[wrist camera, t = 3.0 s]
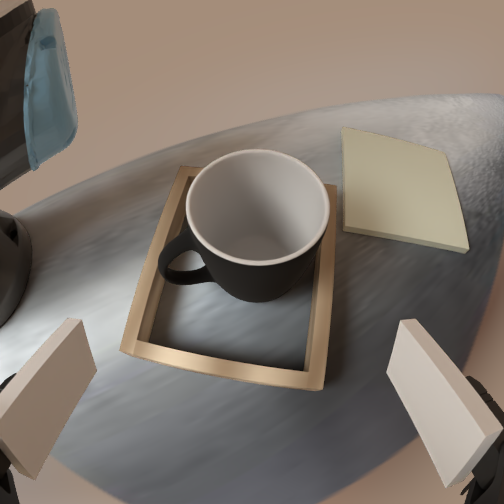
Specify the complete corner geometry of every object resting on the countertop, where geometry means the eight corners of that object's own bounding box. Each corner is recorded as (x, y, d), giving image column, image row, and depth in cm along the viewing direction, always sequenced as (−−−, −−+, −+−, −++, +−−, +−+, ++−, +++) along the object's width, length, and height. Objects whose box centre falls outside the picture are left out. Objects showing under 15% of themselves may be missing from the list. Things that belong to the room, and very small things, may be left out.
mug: (281, 213, 30) (291, 135, 21) (323, 293, 26) (357, 234, 17) (163, 254, 28) (128, 185, 19) (192, 344, 24) (157, 309, 15)
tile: (342, 231, 29) (345, 225, 28) (340, 132, 36) (342, 126, 35) (464, 253, 28) (469, 249, 27) (441, 157, 35) (444, 152, 34)
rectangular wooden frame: (131, 356, 24) (119, 350, 21) (185, 183, 32) (180, 165, 30) (315, 391, 23) (322, 389, 20) (330, 202, 31) (336, 185, 28)
